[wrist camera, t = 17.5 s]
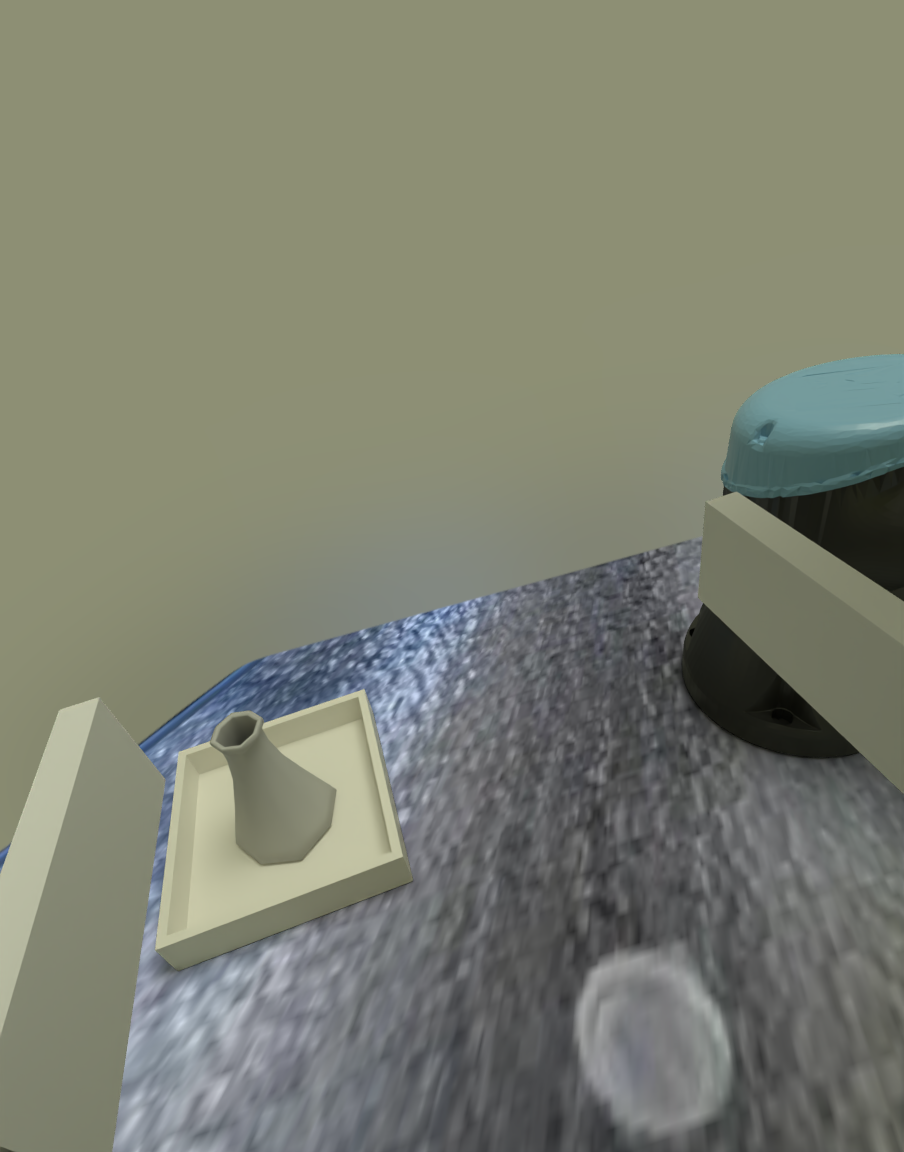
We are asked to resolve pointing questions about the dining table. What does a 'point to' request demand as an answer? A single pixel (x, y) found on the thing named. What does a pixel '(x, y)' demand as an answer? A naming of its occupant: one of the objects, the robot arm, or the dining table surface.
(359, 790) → the box
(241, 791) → the flask
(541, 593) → the dining table surface
